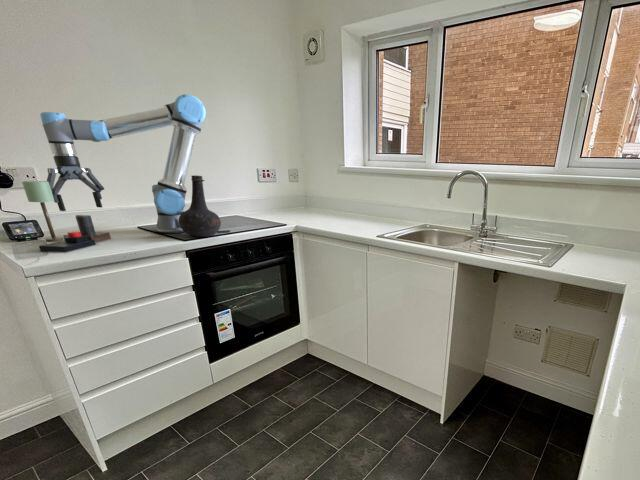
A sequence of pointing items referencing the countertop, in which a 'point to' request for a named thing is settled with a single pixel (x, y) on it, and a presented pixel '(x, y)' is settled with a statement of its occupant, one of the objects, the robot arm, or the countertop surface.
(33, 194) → the lamp
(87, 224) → the dark grey tall block
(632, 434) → the countertop surface
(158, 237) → the countertop surface
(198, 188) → the glass bottle
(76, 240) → the lamp base
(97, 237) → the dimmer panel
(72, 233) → the power button
